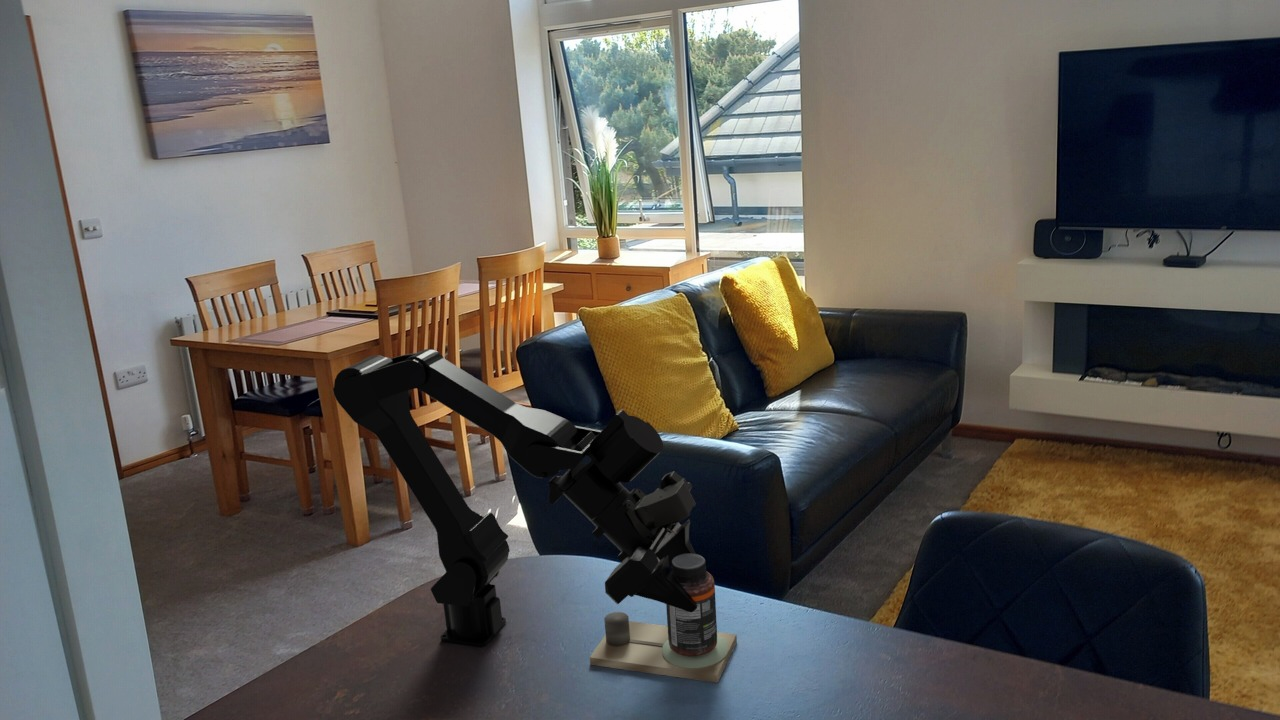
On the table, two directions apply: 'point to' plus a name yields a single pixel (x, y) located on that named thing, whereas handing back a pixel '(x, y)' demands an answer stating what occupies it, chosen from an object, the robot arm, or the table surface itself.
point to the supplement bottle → (700, 626)
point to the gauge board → (648, 650)
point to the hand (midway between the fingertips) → (701, 596)
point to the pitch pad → (699, 661)
